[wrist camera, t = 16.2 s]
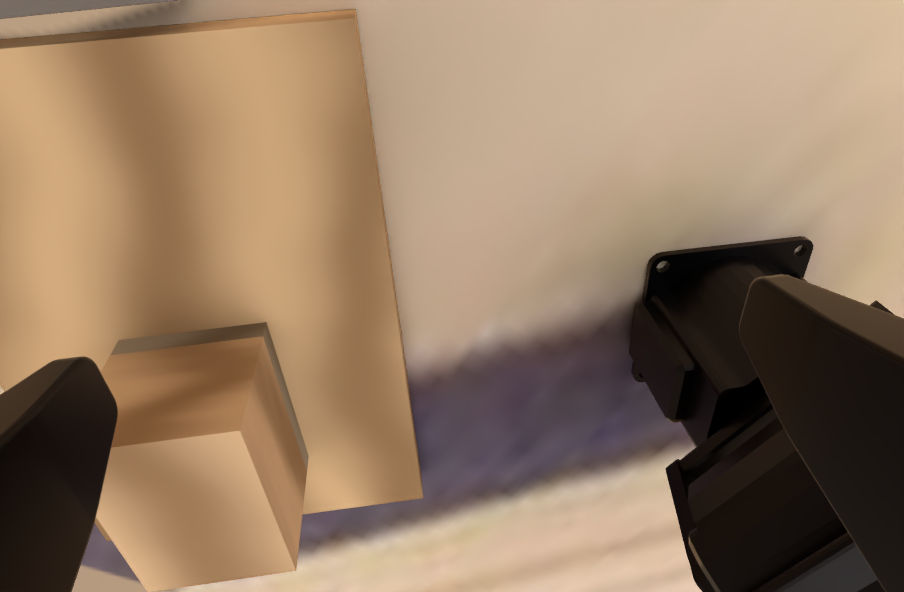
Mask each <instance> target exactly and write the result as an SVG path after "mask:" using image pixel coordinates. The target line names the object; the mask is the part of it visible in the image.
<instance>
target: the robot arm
mask: <svg viewBox="0 0 904 592" xmlns="http://www.w3.org/2000/svg"><path fill="white" fill-rule="evenodd" d="M801 245H803V247H802V249H801V250H800V251H799V252H797V253H794V251H795V249H796V248H797V247H798V246H801ZM812 250H813V244H812V242H811V241H810V240H809V239H807V238H806V237H801V236H799V237H790V238H782V239H773V240H764V241H755V242H746V243H738V244H729V245H720V246H711V247H702V248H694V249H685V250H676V251H667V252H661V253H657V254H656V255H654V256H653V257H652V258H651V259H650V260H649V262H648V266H647V273H646V279H645V286H644V292H643V299H642V301H639V302H638V304H637V305H636V307H635V312H634V319H633V326H632V333H631V340H630V347H629V353H630V355H631V357H632V359H633V365H632V375H633V377H634V379H635V380H636V381H638V382H646V384H647V385H648V387H649V389H650V391H651V392H652V394H653V396H654V398H655V400H656V401H657V403H658V405H659V407H660V408H661V410H662V412H663V414H664V415H665V417H666V418H667V419H668V420H669V421H671V422H681V423H682V424H683V426H684V428H685V429H686V431H687V433H688V435H689V436H690V438H691V440H692V441H693V443H694V445H695V446H696V448H695V449H694V450H692V451H691V452H690V453H689V454H687V455H686V456H685V457H684V458H682V459H681V460H679V459H677V460H675V461H674V462H673V463H672V464H670V465H669V466H668V467H667V468H666V473H667V477H668V481H669V485H670V489H671V493H672V497H673V501H674V505H675V509H676V513H677V517H678V521H679V525H680V529H681V533H682V537H683V541H684V545H685V549H686V553H687V557H688V560H689V563H690V566H691V570H692V574H693V578H694V580H695V582H696V584H697V586H698V587H699V588H700V589H701V590H702V591H703V592H904V318H901V317H898V316H896V315H894V314H893V313H892V312H890V311H889V310H888V309H887V308H885V307H884V306H883V305H881V304H880V303H879V302H878V301H875V302H873V303H872V304H871V305H870V306H869V305H866V304H864V303H861V302H858V301H856V300H853V299H850V298H848V297H845V296H842V295H840V294H837V293H834V292H832V291H829V290H826V289H824V288H821V287H818V286H816V285H813V284H810V283H808V282H807V281H806V280H805V279H803V277H804V274H805V271H806V268H807V265H808V262H809V259H810V256H811V253H812ZM662 261H667V263H666V265H665V266H664V267H663V268H661V269H657V268H656V267H657V265H658V264H659V263H660V262H662ZM639 373H641V374H639ZM117 418H118V408H117V403H116V400H115V398H114V396H113V394H112V392H111V391H110V389H109V387H108V385H107V383H106V381H105V379H104V378H103V376H102V374H101V372H100V370H99V368H98V367H97V365H96V363H95V362H94V361H93V360H92V359H91V358H88V357H85V356H81V357H73V358H64V359H57V360H54V361H51V362H50V363H48V364H46V365H45V366H43V367H42V368H40V369H39V370H37V371H36V372H34V373H33V374H31V375H30V376H28V377H27V378H25V379H24V380H22V381H21V382H19V383H18V384H16V385H15V386H13V387H11V388H10V389H8V390H7V391H5V392H4V393H2V394H1V395H0V592H72V589H73V586H74V583H75V580H76V577H77V574H78V571H79V568H80V565H81V562H82V559H83V556H84V553H85V550H86V547H87V545H88V542H89V538H90V535H91V532H92V529H93V526H94V522H95V518H96V514H97V510H98V506H99V502H100V497H101V493H102V488H103V483H104V479H105V474H106V470H107V465H108V460H109V456H110V451H111V447H112V442H113V437H114V433H115V428H116V424H117Z"/></svg>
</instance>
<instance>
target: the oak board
mask: <svg viewBox="0 0 904 592" xmlns="http://www.w3.org/2000/svg"><path fill="white" fill-rule="evenodd" d="M263 322H267V325H268V328H269V332H270V335H271V338H272V341H273V344H274V347H275V351H276V354H277V357H278V360H279V363H280V366H281V370H282V373H283V376H284V379H285V382H286V386H287V389H288V392H289V395H290V398H291V401H292V405H293V408H294V411H295V414H296V417H297V420H298V424H299V427H300V430H301V433H302V436H303V439H304V443H305V446H306V449H307V452H308V455H309V459H308V468H307V477H306V486H305V495H304V504H303V513H302V514H309V513H316V512H324V511H331V510H338V509H346V508H353V507H361V506H368V505H375V504H383V503H390V502H397V501H405V500H412V499H420V498H423V491H422V479H421V469H420V462H419V455H418V448H417V441H416V434H415V427H414V420H413V412H412V405H411V398H410V391H409V384H408V377H407V370H406V363H405V356H404V349H403V342H402V334H401V327H400V320H399V313H398V306H397V299H396V292H395V285H394V278H393V271H392V264H391V257H390V249H389V242H388V235H387V228H386V221H385V214H384V207H383V200H382V193H381V186H380V179H379V171H378V164H377V157H376V150H375V143H374V136H373V129H372V122H371V115H370V108H369V101H368V93H367V86H366V79H365V72H364V65H363V58H362V51H361V44H360V37H359V30H358V23H357V15H356V9H350V10H339V11H327V12H316V13H304V14H292V15H281V16H269V17H257V18H246V19H234V20H222V21H211V22H199V23H187V24H176V25H164V26H152V27H141V28H129V29H118V30H106V31H94V32H83V33H71V34H59V35H48V36H36V37H24V38H13V39H1V40H0V385H1V387H2V388H3V390H4V391H7V390H8V389H10V388H11V387H13V386H15V385H16V384H18V383H19V382H21V381H22V380H24V379H25V378H27V377H28V376H30V375H31V374H33V373H34V372H36V371H37V370H39V369H40V368H42V367H43V366H45V365H46V364H48V363H50V362H51V361H54V360H57V359H64V358H73V357H81V356H85V357H88V358H91V359H92V360H93V361H94V362H95V363H96V365H97V367H98V368H99V370H100V372H101V370H102V369H103V367H104V365H105V363H106V362H107V360H108V358H109V356H110V355H111V353H112V351H113V349H114V347H115V346H116V344H117V342H118V340H125V339H133V338H141V337H149V336H157V335H165V334H173V333H182V332H190V331H198V330H206V329H214V328H222V327H230V326H239V325H247V324H255V323H263ZM94 523H95V524H96V526H97V527H98V529H99V530H100V532H101V533H102V534H103V536H104V537H105V539H106V540H107V541H110V540H111V538H110V537H109V535H108V534H107V532H106V531H105V529H104V528H103V527H102V525H101V524H100V522H99V521H98V519H97V518H95V522H94Z"/></svg>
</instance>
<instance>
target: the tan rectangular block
mask: <svg viewBox="0 0 904 592" xmlns="http://www.w3.org/2000/svg"><path fill="white" fill-rule="evenodd" d="M101 374H102V376H103V378H104V379H105V381H106V383H107V385H108V387H109V389H110V391H111V392H112V394H113V396H114V398H115V400H116V403H117V408H118V418H117V424H116V428H115V433H114V437H113V442H112V447H111V451H110V456H109V460H108V465H107V470H106V474H105V479H104V483H103V488H102V493H101V497H100V502H99V506H98V510H97V514H96V518H97V519H98V521H99V522H100V524H101V525H102V527H103V528H104V529H105V531H106V532H107V534H108V535H109V537H110V538H111V540H112V541H113V543H114V544H115V545H116V547H117V548H118V550H119V551H120V553H121V554H122V556H123V557H124V558H125V560H126V561H127V563H128V564H129V566H130V567H131V569H132V570H133V571H134V573H135V574H136V576H137V577H138V579H139V580H140V582H141V583H142V585H143V586H144V587H145V589H146V590H147V592H153V591H160V590H167V589H174V588H181V587H187V586H194V585H201V584H208V583H215V582H222V581H229V580H235V579H242V578H249V577H256V576H263V575H270V574H277V573H283V572H290V571H296V567H297V558H298V549H299V540H300V531H301V522H302V513H303V504H304V495H305V486H306V477H307V468H308V459H309V455H308V452H307V449H306V446H305V443H304V439H303V436H302V433H301V430H300V427H299V424H298V420H297V417H296V414H295V411H294V408H293V405H292V401H291V398H290V395H289V392H288V389H287V386H286V382H285V379H284V376H283V373H282V370H281V366H280V363H279V360H278V357H277V354H276V351H275V347H274V344H273V341H272V338H271V335H270V332H269V328H268V325H267V322H263V323H255V324H247V325H239V326H230V327H222V328H214V329H206V330H198V331H190V332H182V333H173V334H165V335H157V336H149V337H141V338H133V339H125V340H118V342H117V344H116V346H115V347H114V349H113V351H112V353H111V355H110V356H109V358H108V360H107V362H106V363H105V365H104V367H103V369H102V370H101Z"/></svg>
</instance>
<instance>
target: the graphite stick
mask: <svg viewBox="0 0 904 592" xmlns="http://www.w3.org/2000/svg"><path fill="white" fill-rule="evenodd" d="M168 1H177V0H0V19H3V18H14V17H23V16H33V15H42V14H51V13H62V12H72V11H81V10H91V9H101V8H110V7H120V6H130V5H139V4H149V3H159V2H168Z"/></svg>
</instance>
